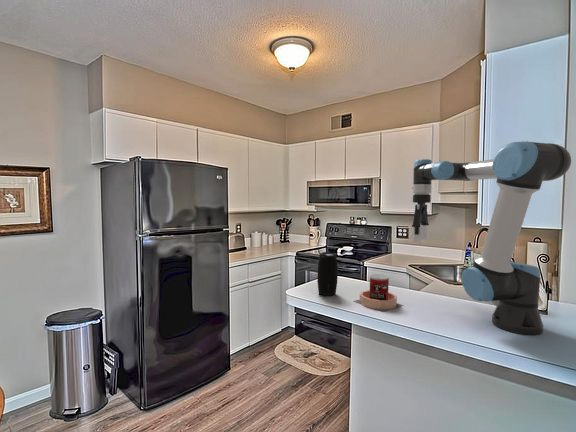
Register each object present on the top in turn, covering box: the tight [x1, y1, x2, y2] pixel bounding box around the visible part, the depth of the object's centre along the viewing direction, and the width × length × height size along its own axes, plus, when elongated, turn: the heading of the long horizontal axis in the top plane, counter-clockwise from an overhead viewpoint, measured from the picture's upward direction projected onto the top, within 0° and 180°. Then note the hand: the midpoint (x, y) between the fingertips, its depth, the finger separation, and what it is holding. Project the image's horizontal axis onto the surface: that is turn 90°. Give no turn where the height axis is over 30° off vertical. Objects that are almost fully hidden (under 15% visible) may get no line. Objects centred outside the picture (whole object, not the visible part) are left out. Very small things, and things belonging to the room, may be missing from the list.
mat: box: [352, 299, 404, 313], centre depth 140 cm, size 16×14×1 cm
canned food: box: [369, 274, 390, 300], centre depth 140 cm, size 8×8×11 cm
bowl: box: [359, 289, 398, 310], centre depth 140 cm, size 15×15×4 cm
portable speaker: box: [316, 251, 339, 298], centre depth 151 cm, size 9×9×20 cm
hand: (420, 240), depth 150 cm, fingers open, 13 cm apart
